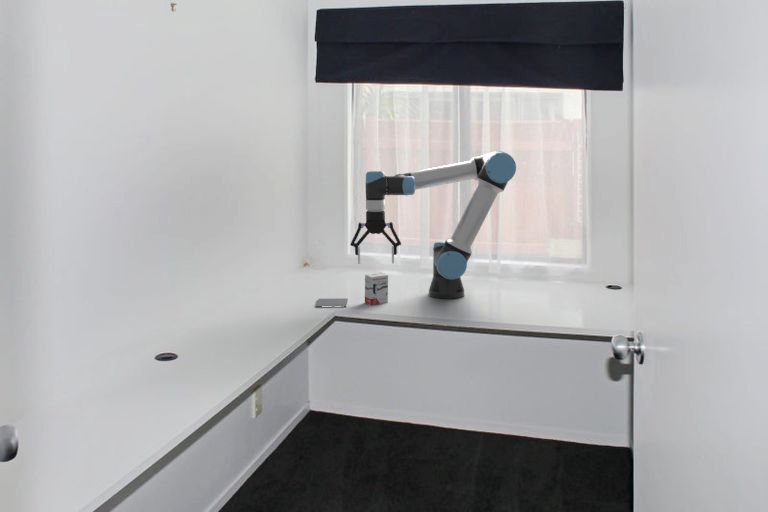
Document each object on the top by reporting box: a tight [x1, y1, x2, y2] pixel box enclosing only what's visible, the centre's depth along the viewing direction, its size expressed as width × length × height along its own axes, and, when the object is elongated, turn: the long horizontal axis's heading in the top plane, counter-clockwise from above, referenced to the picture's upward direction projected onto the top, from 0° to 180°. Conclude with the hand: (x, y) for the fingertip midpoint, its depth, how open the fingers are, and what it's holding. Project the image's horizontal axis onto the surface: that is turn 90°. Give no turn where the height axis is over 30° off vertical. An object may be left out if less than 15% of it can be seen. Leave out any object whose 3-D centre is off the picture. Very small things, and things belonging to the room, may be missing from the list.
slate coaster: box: [315, 298, 349, 308], centre depth 249 cm, size 12×12×1 cm
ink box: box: [364, 272, 389, 306], centre depth 249 cm, size 8×5×12 cm, turn 123°
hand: (376, 263), depth 247 cm, fingers open, 13 cm apart
